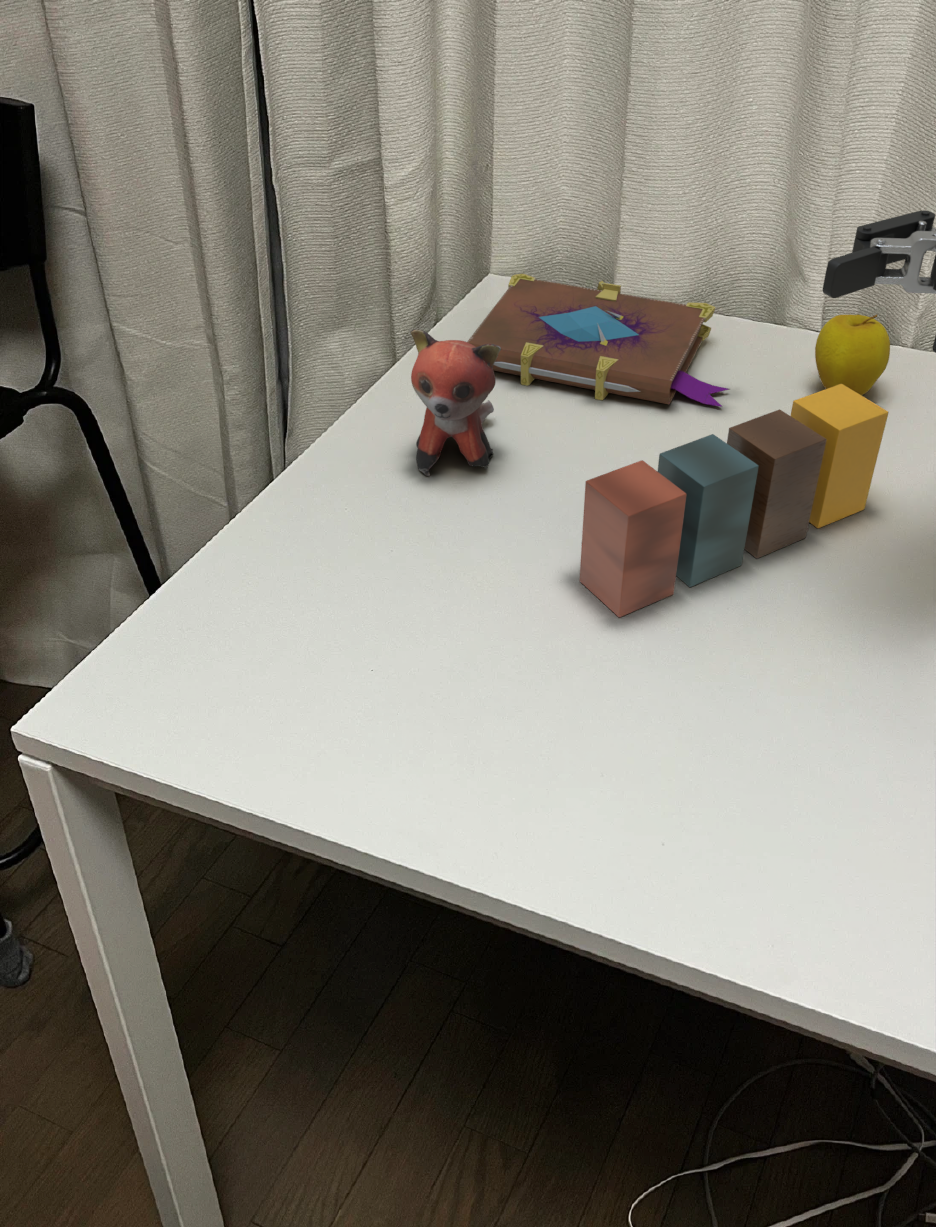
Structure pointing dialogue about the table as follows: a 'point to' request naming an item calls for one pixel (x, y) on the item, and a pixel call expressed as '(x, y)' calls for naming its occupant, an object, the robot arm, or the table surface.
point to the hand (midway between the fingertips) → (882, 308)
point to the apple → (852, 352)
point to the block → (842, 449)
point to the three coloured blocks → (698, 510)
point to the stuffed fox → (453, 397)
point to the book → (598, 340)
